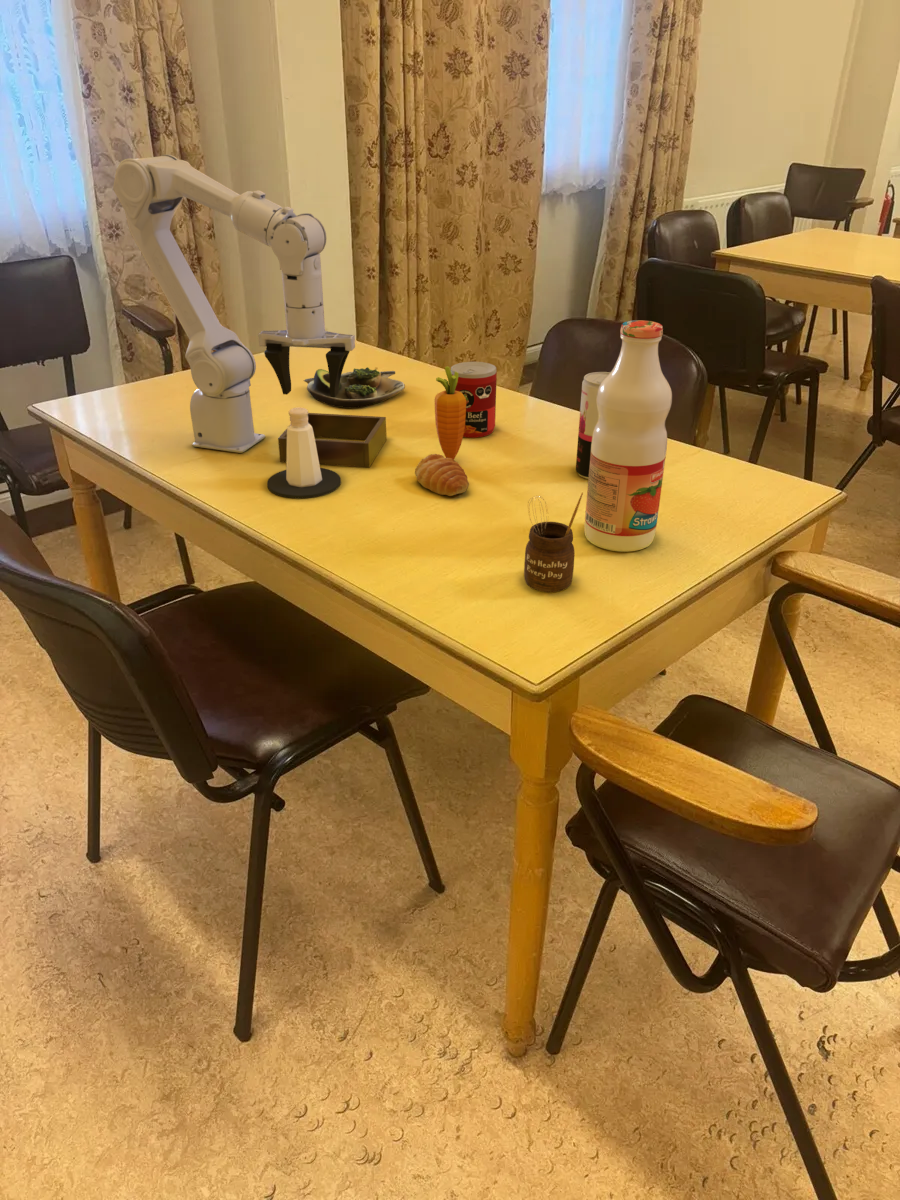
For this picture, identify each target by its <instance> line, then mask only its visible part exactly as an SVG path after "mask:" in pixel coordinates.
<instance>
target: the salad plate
mask: <svg viewBox="0 0 900 1200" xmlns="http://www.w3.org/2000/svg"><path fill="white" fill-rule="evenodd" d="M395 374H396V371H395V370H386V371H379V370H378V367H374V369H370V367H366V368H353V370H352V371H347V372H342V374H341V378H340V383H339V392H338V395H337V396H336V397H331V396H330V378H329V370H326V369H322V368H319V369H317V370H316V371H315V373H314V375H313V377H309V378H305V379H304V380H303V382H304V383H307V385H306V389H307V391H308V394H310V395H311V397H312V398H313V399H314V400H317V401H319V402H321V403H323V404H325V405H329V406H332V407H337V408H343V409H344V408H345V409H356V408H363V407H364V408H365V407H369V406H371V405H375V404H378V403H382V402H385V401H387V400H389V399H390V398H391V399H392V398H393V397H396V396H397V395H399V394H400V393H401V392H403V391H404V390H405V388H406V385H405V383H404V382H403V381H400V380H398V379H393V378H389V377H391V376H394V375H395Z"/></svg>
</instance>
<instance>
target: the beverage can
mask: <svg viewBox="0 0 900 1200" xmlns="http://www.w3.org/2000/svg"><path fill="white" fill-rule="evenodd" d="M610 372H611V371H609V372H607V371H595V372H589V373H587V374H585V375H584V376H583V380H582V382H581V383H582V384H581V395H580V408H579V422H578V434H577V446H576V447H577V449H576V461H575V472H576V473H577V474H578V475H579V476H580V477H581V478H583V479H585V480H588V479H589V468H590V456H591V444H592V437H593V432H594V428H595V426H596V424H597V422H598V420H599V413H598V408H597V393H598V389H599V386H600V384H601V383H602V381H603V380H604V379H605V378H606V376H607V375H608V374H609V373H610Z"/></svg>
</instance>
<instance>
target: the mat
mask: <svg viewBox="0 0 900 1200" xmlns="http://www.w3.org/2000/svg"><path fill="white" fill-rule="evenodd" d="M320 470H321V475H322V481H320V482H319V483H318V484H316V485H315V486H308V487H297V486H291V485H289V483H288V481H287V480H286V469H284V470H281V471H278V472H276V473H274V474H272V475H271V476H270V477H269V478H268V479H267V482H266V487H267V489H268V491H270V492H271V494H273V495H275V496H279V497H282V498H286V499H287V498H288V499H312V498H318V497H322V496H326V495H328V494H330V493H334V492H335V491H336V490H337V489H339V487H340V486H341V484H342V479H341V476H340V475H339V473H337V472H336V471H335V470H331V469H329V468H325V467H324V468H323V467H320Z"/></svg>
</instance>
